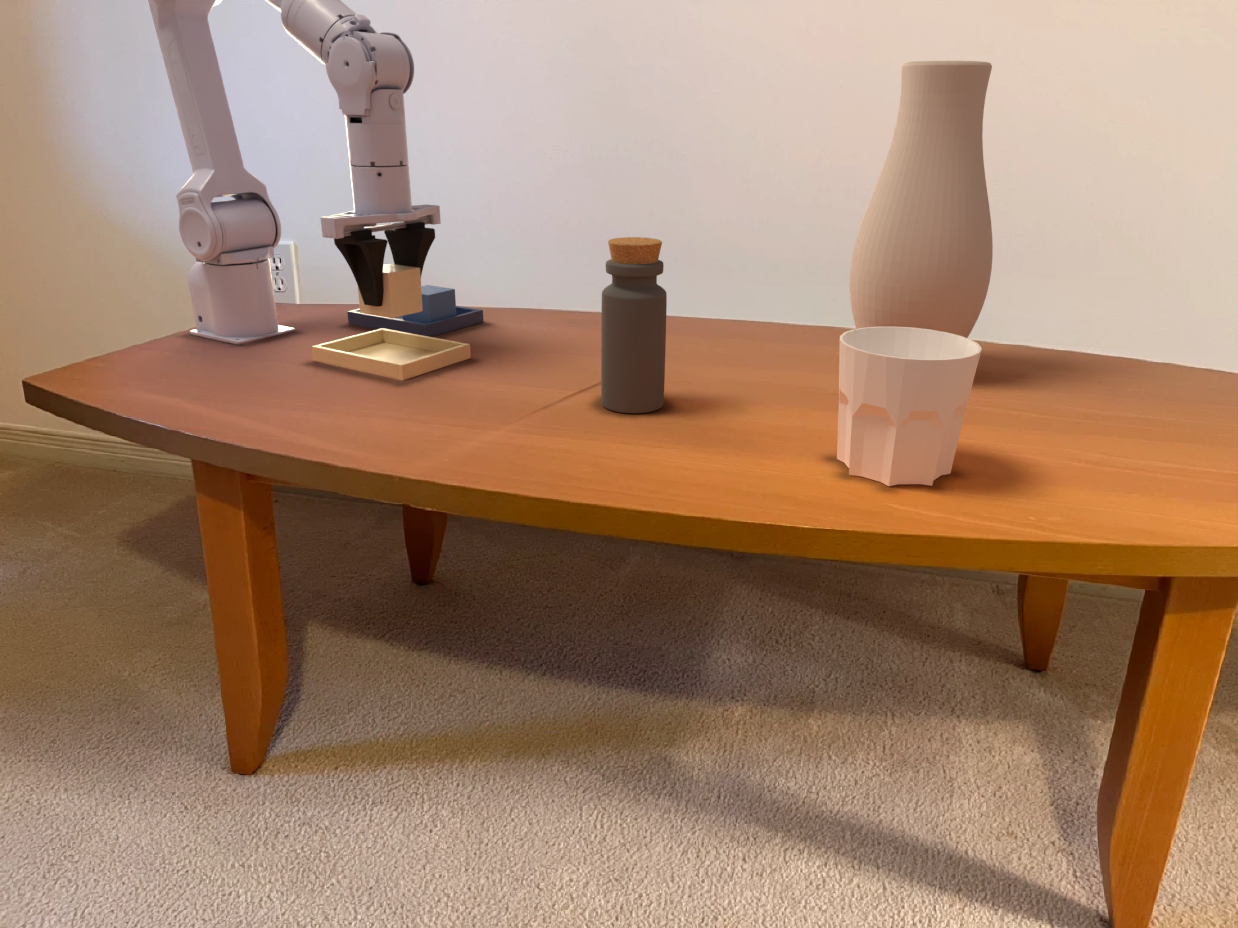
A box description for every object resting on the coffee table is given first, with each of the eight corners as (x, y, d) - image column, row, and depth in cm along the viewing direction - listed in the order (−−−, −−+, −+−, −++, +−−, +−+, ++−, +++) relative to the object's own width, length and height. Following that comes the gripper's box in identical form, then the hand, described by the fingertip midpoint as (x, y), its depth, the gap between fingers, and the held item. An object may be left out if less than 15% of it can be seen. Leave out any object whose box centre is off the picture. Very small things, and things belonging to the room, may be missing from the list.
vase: (995, 387, 90) (1052, 59, 79) (859, 386, 90) (897, 58, 79) (946, 352, 103) (989, 66, 92) (827, 351, 103) (855, 64, 91)
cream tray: (313, 363, 96) (311, 346, 95) (383, 343, 104) (382, 327, 103) (403, 383, 89) (401, 365, 89) (471, 361, 97) (470, 343, 97)
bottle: (671, 398, 86) (676, 237, 80) (653, 417, 80) (657, 246, 75) (613, 392, 87) (614, 234, 82) (592, 409, 82) (591, 242, 77)
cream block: (359, 312, 94) (356, 268, 93) (391, 306, 98) (388, 263, 96) (391, 318, 92) (388, 273, 90) (422, 311, 96) (420, 267, 94)
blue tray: (348, 326, 112) (347, 311, 111) (407, 311, 120) (406, 297, 119) (427, 341, 105) (426, 325, 104) (483, 324, 113) (483, 309, 112)
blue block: (403, 328, 109) (400, 290, 108) (429, 321, 113) (427, 284, 111) (431, 333, 107) (428, 295, 105) (457, 326, 111) (455, 288, 109)
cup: (848, 492, 65) (863, 360, 61) (813, 444, 74) (824, 326, 71) (982, 491, 66) (1005, 359, 62) (931, 443, 75) (948, 326, 71)
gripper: (351, 170, 82) (366, 318, 87) (458, 163, 93) (465, 293, 98) (299, 167, 85) (316, 309, 90) (409, 160, 97) (418, 287, 102)
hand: (391, 301), depth 94 cm, fingers closed on cream block, 4 cm apart
